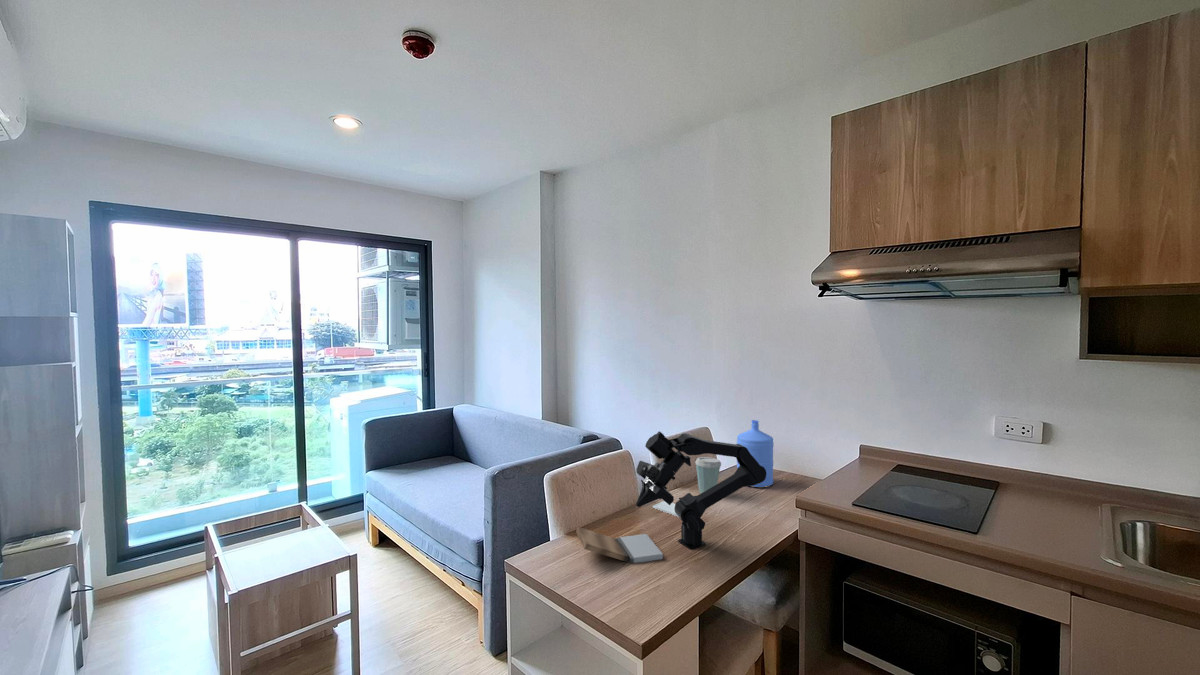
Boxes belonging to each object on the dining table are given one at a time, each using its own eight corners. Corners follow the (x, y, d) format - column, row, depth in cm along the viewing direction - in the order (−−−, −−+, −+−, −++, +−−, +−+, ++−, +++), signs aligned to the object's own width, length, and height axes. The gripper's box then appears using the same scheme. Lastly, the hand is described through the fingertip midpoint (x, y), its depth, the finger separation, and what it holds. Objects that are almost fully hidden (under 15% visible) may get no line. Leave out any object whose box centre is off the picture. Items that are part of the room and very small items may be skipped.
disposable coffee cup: (701, 487, 202) (701, 453, 202) (725, 492, 196) (725, 457, 195) (690, 494, 193) (691, 459, 193) (715, 500, 187) (715, 463, 187)
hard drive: (652, 505, 179) (678, 514, 170) (665, 499, 185) (691, 508, 176) (652, 509, 179) (678, 519, 170) (665, 504, 185) (691, 512, 176)
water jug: (768, 491, 198) (768, 426, 197) (732, 484, 206) (732, 422, 206) (776, 481, 211) (777, 419, 210) (742, 475, 219) (742, 416, 219)
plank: (615, 543, 149) (616, 538, 149) (626, 561, 138) (628, 556, 138) (575, 531, 146) (577, 526, 146) (584, 549, 134) (586, 543, 134)
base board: (646, 538, 153) (646, 533, 153) (662, 559, 140) (662, 553, 140) (616, 542, 150) (616, 537, 150) (630, 563, 137) (630, 558, 137)
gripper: (641, 443, 155) (610, 479, 153) (663, 463, 137) (629, 504, 135) (663, 462, 158) (634, 498, 156) (688, 484, 140) (654, 525, 138)
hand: (637, 506), depth 146 cm, fingers closed
